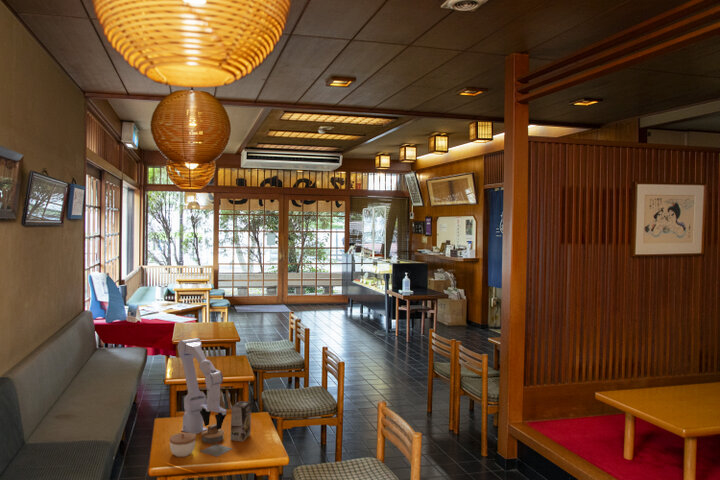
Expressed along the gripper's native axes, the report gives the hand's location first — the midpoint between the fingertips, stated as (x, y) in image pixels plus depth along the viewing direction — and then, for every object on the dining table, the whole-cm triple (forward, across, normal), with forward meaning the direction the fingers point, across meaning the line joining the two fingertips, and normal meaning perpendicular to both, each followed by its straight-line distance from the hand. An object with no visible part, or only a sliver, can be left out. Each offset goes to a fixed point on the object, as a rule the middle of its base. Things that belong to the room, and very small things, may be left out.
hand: (212, 427), depth 255 cm
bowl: (+6, 0, 0) cm, 6 cm away
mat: (+6, +10, -8) cm, 14 cm away
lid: (+3, 0, 0) cm, 3 cm away
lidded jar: (+6, 0, -19) cm, 20 cm away
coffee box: (+6, +9, +9) cm, 14 cm away
